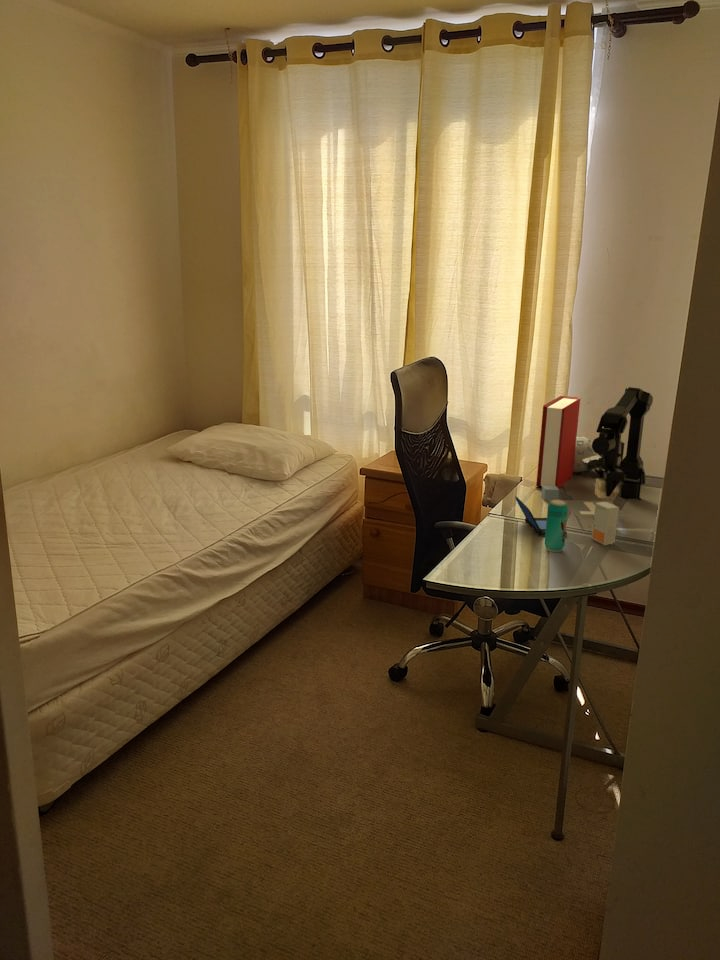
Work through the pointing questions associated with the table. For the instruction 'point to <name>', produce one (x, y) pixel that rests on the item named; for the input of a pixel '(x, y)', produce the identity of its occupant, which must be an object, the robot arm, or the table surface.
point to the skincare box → (605, 523)
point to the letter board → (586, 507)
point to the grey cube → (549, 493)
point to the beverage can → (556, 525)
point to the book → (558, 441)
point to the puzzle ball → (582, 453)
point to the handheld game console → (533, 519)
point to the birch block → (603, 489)
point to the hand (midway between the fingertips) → (605, 493)
